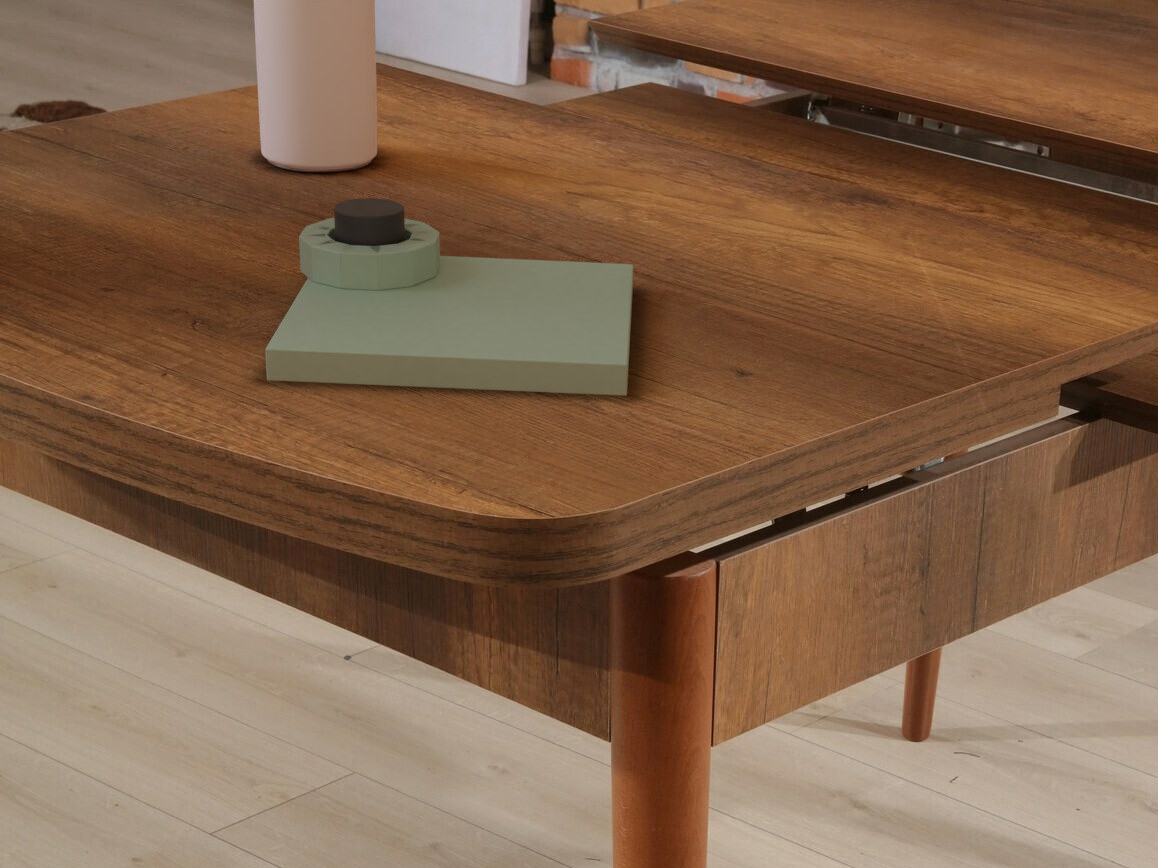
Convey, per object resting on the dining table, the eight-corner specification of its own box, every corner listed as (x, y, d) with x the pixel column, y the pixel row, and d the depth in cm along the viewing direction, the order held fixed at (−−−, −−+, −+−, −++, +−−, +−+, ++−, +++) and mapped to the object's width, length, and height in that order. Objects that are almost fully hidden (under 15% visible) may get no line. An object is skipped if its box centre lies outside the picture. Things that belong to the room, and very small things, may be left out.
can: (343, 179, 97) (337, -50, 92) (239, 165, 98) (226, -61, 93) (397, 154, 102) (394, -63, 97) (297, 141, 104) (289, -73, 99)
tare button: (329, 250, 76) (328, 215, 75) (341, 230, 79) (340, 196, 78) (399, 253, 76) (399, 218, 75) (409, 233, 79) (408, 199, 78)
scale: (254, 381, 69) (250, 308, 68) (316, 276, 81) (314, 212, 80) (626, 397, 69) (629, 324, 68) (632, 290, 81) (635, 226, 80)
